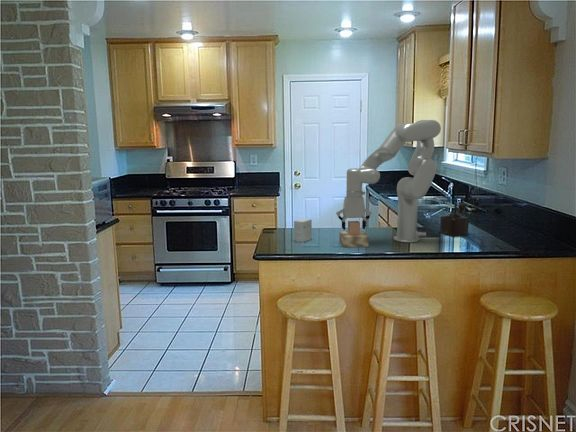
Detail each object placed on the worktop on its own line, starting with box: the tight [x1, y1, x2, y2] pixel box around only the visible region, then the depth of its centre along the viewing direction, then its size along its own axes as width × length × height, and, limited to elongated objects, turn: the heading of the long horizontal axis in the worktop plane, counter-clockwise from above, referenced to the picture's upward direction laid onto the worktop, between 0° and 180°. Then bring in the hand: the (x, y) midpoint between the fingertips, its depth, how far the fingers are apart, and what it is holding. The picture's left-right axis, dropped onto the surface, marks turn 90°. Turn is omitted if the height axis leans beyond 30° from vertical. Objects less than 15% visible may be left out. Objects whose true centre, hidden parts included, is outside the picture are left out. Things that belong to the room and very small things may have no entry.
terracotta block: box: [347, 220, 361, 235], centre depth 225 cm, size 5×5×6 cm
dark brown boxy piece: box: [439, 202, 470, 238], centre depth 240 cm, size 16×11×18 cm
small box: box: [293, 217, 313, 243], centre depth 235 cm, size 8×6×10 cm
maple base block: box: [339, 230, 370, 248], centre depth 226 cm, size 12×12×5 cm
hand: (353, 229), depth 225 cm, fingers open, 9 cm apart
